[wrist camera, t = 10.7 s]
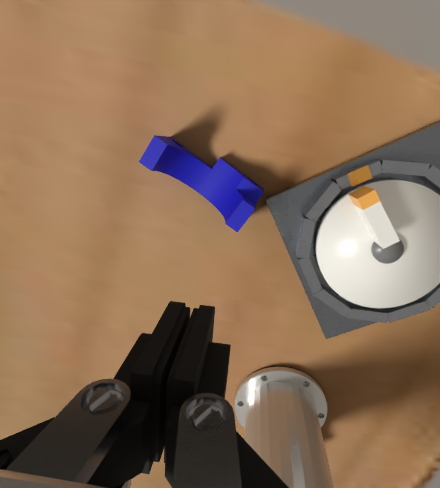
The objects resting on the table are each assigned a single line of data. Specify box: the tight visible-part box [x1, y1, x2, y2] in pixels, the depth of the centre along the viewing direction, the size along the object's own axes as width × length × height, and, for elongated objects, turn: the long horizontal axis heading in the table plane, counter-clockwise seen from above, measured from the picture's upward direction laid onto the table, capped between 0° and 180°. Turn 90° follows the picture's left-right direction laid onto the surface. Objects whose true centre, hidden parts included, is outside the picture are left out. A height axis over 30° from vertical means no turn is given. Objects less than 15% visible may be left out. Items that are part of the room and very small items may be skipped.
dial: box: [315, 179, 440, 308], centre depth 33 cm, size 14×14×5 cm
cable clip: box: [139, 135, 264, 232], centre depth 34 cm, size 12×4×6 cm, turn 55°
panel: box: [265, 121, 440, 339], centre depth 35 cm, size 19×19×4 cm
